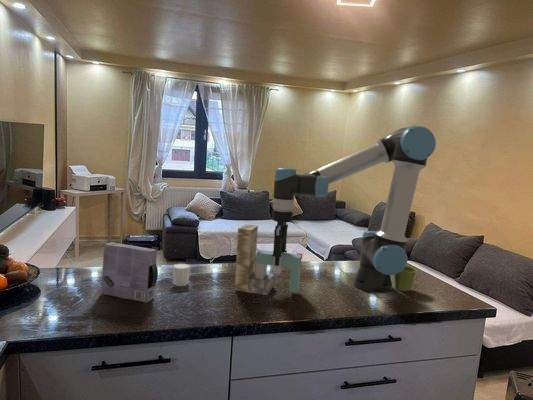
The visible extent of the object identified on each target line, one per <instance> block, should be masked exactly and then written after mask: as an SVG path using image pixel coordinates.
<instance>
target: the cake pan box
mask: <svg viewBox="0 0 533 400" xmlns="http://www.w3.org/2000/svg"><path fill="white" fill-rule="evenodd" d="M157 253H158V249H154V248H148V247H141V246H136V245H132V244H131V245H130V244H124V243H118V242H113V241H112V242H107V243H104V244H103V257H102V272H101V273H102V274H101V277H102V278H101V290H100V294H101V295H106V296H112V297H115V298H120V299H124V300H132V301H136V302H137V301H138V302H143V303H144V304H145V303H146V304H148V303H149V302H150V301H152V300H153V299H154V298H155V286H156V284H157V281H158V275H159V271H158V266H157Z"/></svg>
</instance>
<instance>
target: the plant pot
mask: <svg viewBox="0 0 533 400" xmlns="http://www.w3.org/2000/svg"><path fill="white" fill-rule="evenodd" d="M416 273H418V270H417V269H416V268H414V267H411V266H407V265H406V266H405V268H404V269H403V270H402V271H401V272H399V273H397V274H395V275H394V289H396V290H398V291H400V292H410V291H411V290H412V287H413V283H414V282H413V281H414V279H415V276H416Z"/></svg>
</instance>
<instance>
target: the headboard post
mask: <svg viewBox="0 0 533 400" xmlns="http://www.w3.org/2000/svg"><path fill="white" fill-rule="evenodd" d="M258 229H259V226H258V225H253V224H244V225H242V226H241V227H239V228H237V238H236V241H237V243H236V256H235V257H236V258H235V275H234V279H235V280H234V291H237V292H238V291H239V292H242V293H243V292H244V293H251V294H257V295H258V294H259V295H262V296H264V295H265V296H268V295H269V293H270V292H271V290H272V288H273V286H274V274H273V273H266V279H265V280H260V279H255V276H256V272H255V263H256V253H257V247H258V245H257V244H258Z"/></svg>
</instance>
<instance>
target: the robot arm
mask: <svg viewBox="0 0 533 400" xmlns="http://www.w3.org/2000/svg"><path fill="white" fill-rule="evenodd" d="M436 141H437V140H436V138H435V135H434V134H433V132H432V131H431V130H430V129H429V128H428V127H425V126H422V125H410V126H409V127H403V128H399V129H397V130H395V131H394V132H392V133H390V134H388V135H386V136H384V137H382V138H380V139H378V140H376V143H375V144H373V145H370V146H368V147H366V148H363V149H361V150H359V151H357V152H354V153H352V154H349V155H346V156H344V157H343V158H340V159H338V160H335V161H333V162H330V163H329V164H326V165H324V166H321V167H318V168H317V169H315V170H312V171H310V172H305V173H303V174H297V170H296V169H295V168H288V167H287V168H286V167H278V168H276V170H275V171H274V172H275V174H274V182H273V183H274V184H273V199H272V200H271V203H272V209H273V210H272V213H271V220H272V221H273V222H276V225H275V229H274V233H273V234H274V235H273V236H274V238H273V250H272V251H273V255H272V256H274V265H272V266H273V267H272V269H273V270H272V274H275V275H281V274H282V273H281V271H284V269H285V267H281V260H282V257H281V252H282V253H288V250H287V238H288V237H287V236H288V229H289V228H288V227H289V224H288V223H291V222H292V221H293V215H294V213H293V210H294V206H295V204H294V203H295V200H294V199H295V195H296V196H306V197H307V196H309V197H317V198H318V197H326V196H328V192H329V186H330V185H331V184H333V183H336V182H339V181H340V180H344V179H346V178H348V177H351V176H353V175H354V174H355V175H356V174H357V173H359V172H360V173H361V172H362V171H365V170H367V169H370V168H372V167H375V166H377V165H378V164H381V163H385V164H388V163H390V162H392V163H393V165H394V170H393V173H392V179H391V182H390V187H389V192H388V194H387V195H388V196H387V199H386V203H385V204H386V205H385V207H384V208H385V209H384V212H383V213H384V214H383V217H382V222H381V226H380V229H379V230H377V231H376V230H365V231H364V232H363V233H362V237H361V248H360V249H361V250H360V261H359V262H360V263H359V267H358V269H357V272H356V274H355V275H354V280H353V285H354V287H356V288H357V289H359V290H362V291H365V292H368V293H369V292H370V293H378V294H382V293H383V294H384V293H389V292H391V291H392V290H393V283H392V282H393V281H392V277H391V276H393V275H394V276H395V274H397V273H399V272H401V271H402V270H403V269H404V268H405V266H407V264H408V259H409V258H408V255H407V252H406V248H407V245H408V239H407V238H406V236H405V234H406V230H407V224H408V221H409V216H410V213H411V209H412V205H413V200H414V197H415V196H414V195H415V193H416V188H417V183H418V179H419V175H420V171H421V170H423V169H425V168H426V166H427V162H428V158H429V157H431V155H433V154H434V152H435V149H436V144H437V143H436Z"/></svg>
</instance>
